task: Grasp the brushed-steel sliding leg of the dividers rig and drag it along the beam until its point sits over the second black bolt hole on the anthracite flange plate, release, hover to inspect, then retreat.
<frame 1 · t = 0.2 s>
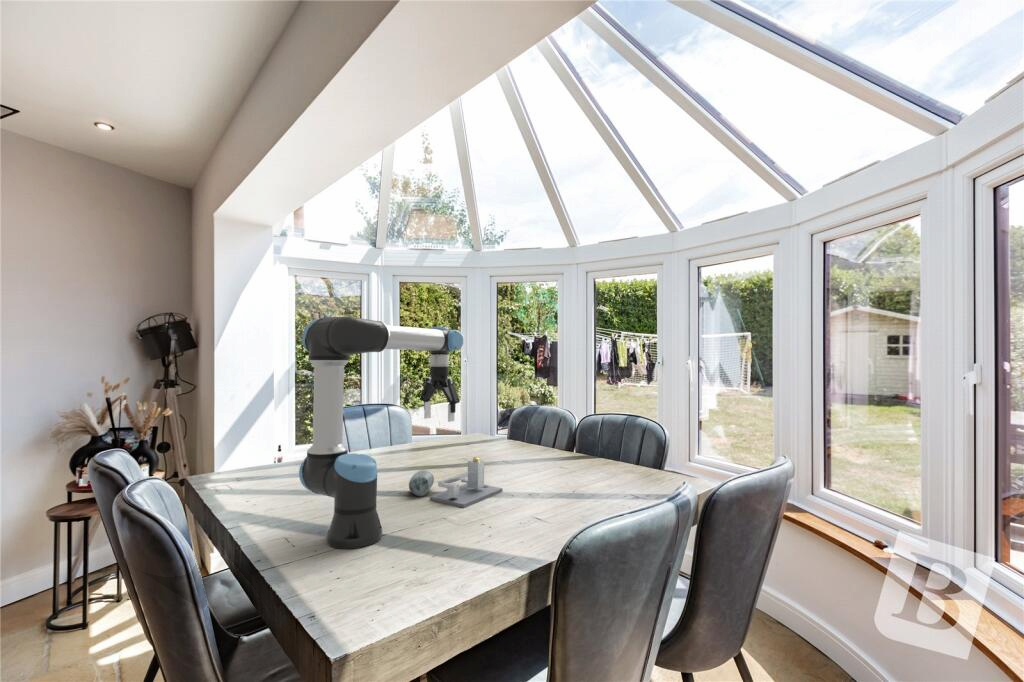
hand: (439, 419, 185), 28 cm above the table, fingers open, 13 cm apart
flange plate: (467, 495, 178), on the table
sliding leg: (472, 472, 183), point 8 cm above the table, slide at 0.0 cm
grey rounded oval lump: (421, 493, 182), on the table
dividers frame: (464, 484, 180), on the flange plate, point 4 cm above the table
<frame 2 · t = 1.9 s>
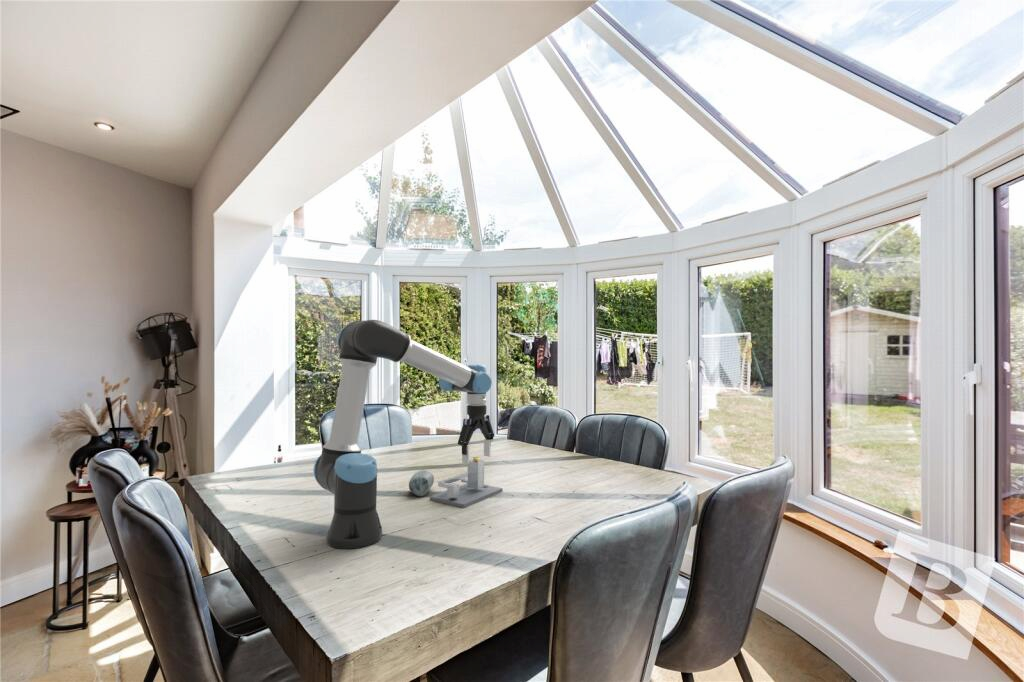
hand: (476, 459, 182), 13 cm above the table, fingers open, 13 cm apart
nothing on the table moved.
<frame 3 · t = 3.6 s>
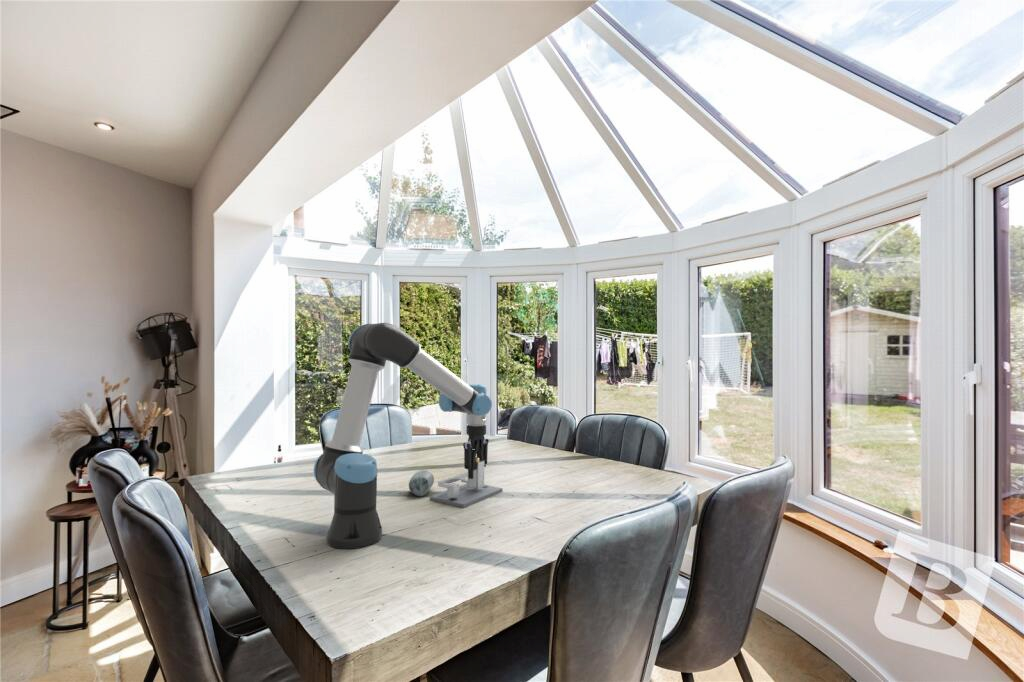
hand: (475, 485, 181), 3 cm above the table, fingers closed on sliding leg, 4 cm apart
sliding leg: (472, 472, 183), point 8 cm above the table, slide at 0.0 cm, touching gripper
everything else where it was.
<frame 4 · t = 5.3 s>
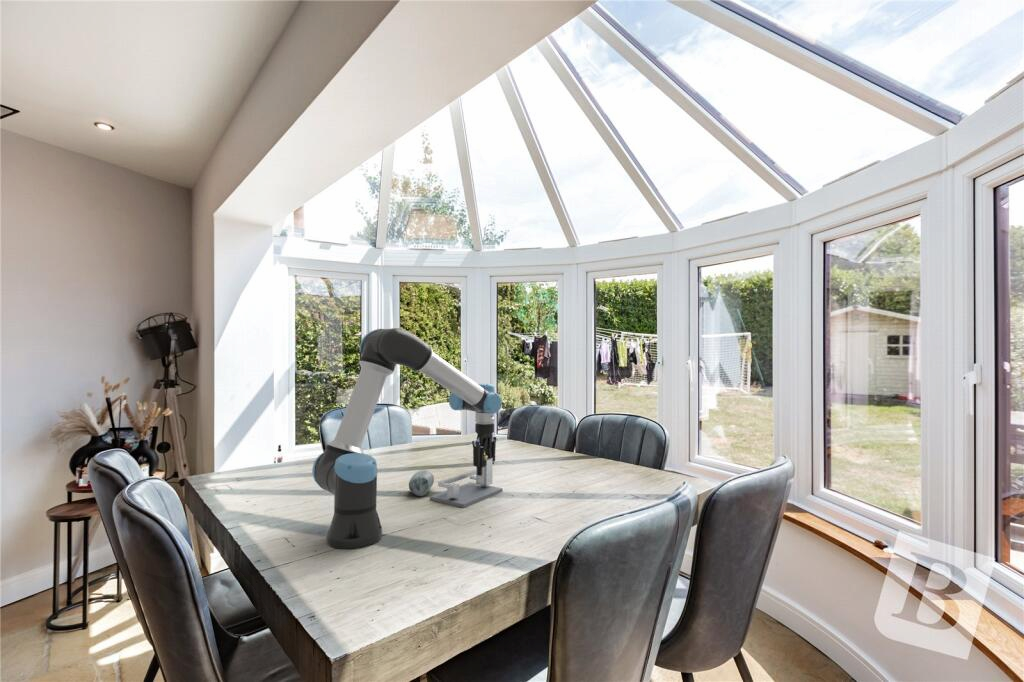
hand: (484, 481, 186), 3 cm above the table, fingers closed on sliding leg, 4 cm apart
sliding leg: (480, 470, 187), point 8 cm above the table, slide at 5.5 cm, touching gripper
everything else where it was.
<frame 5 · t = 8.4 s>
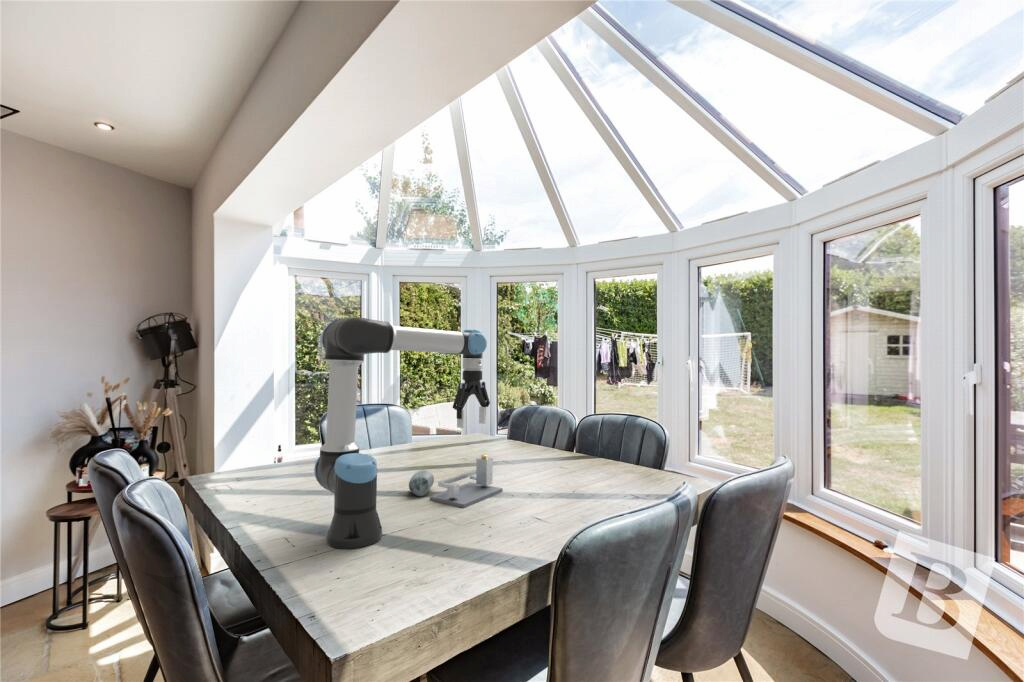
hand: (471, 425, 180), 26 cm above the table, fingers open, 13 cm apart
sliding leg: (480, 470, 187), point 8 cm above the table, slide at 5.5 cm
everything else where it was.
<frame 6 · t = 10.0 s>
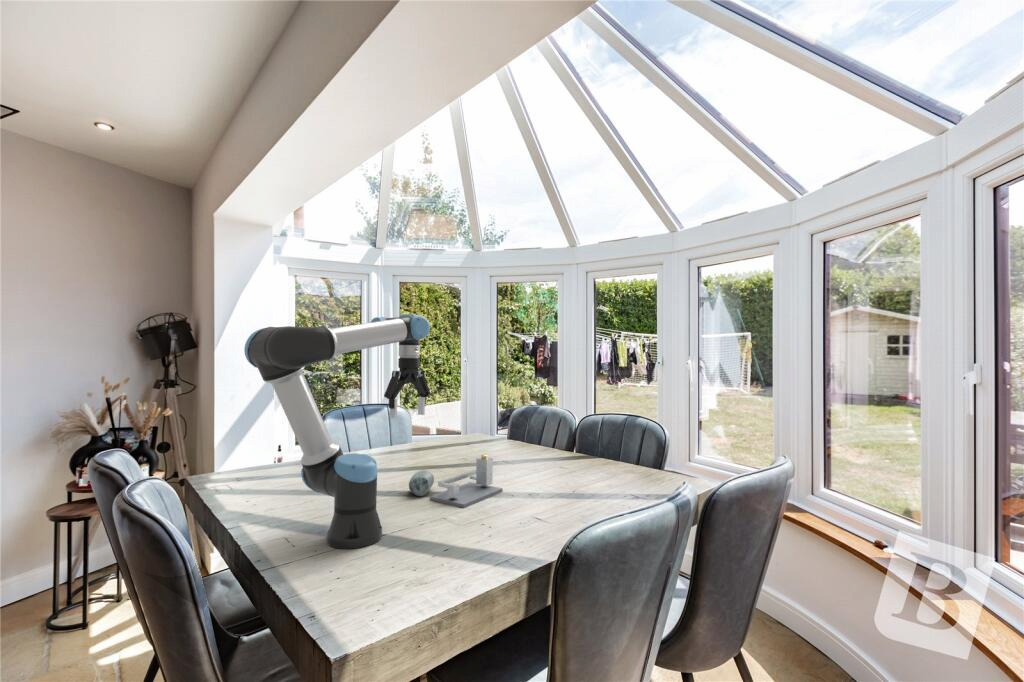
hand: (407, 416, 169), 31 cm above the table, fingers open, 13 cm apart
nothing on the table moved.
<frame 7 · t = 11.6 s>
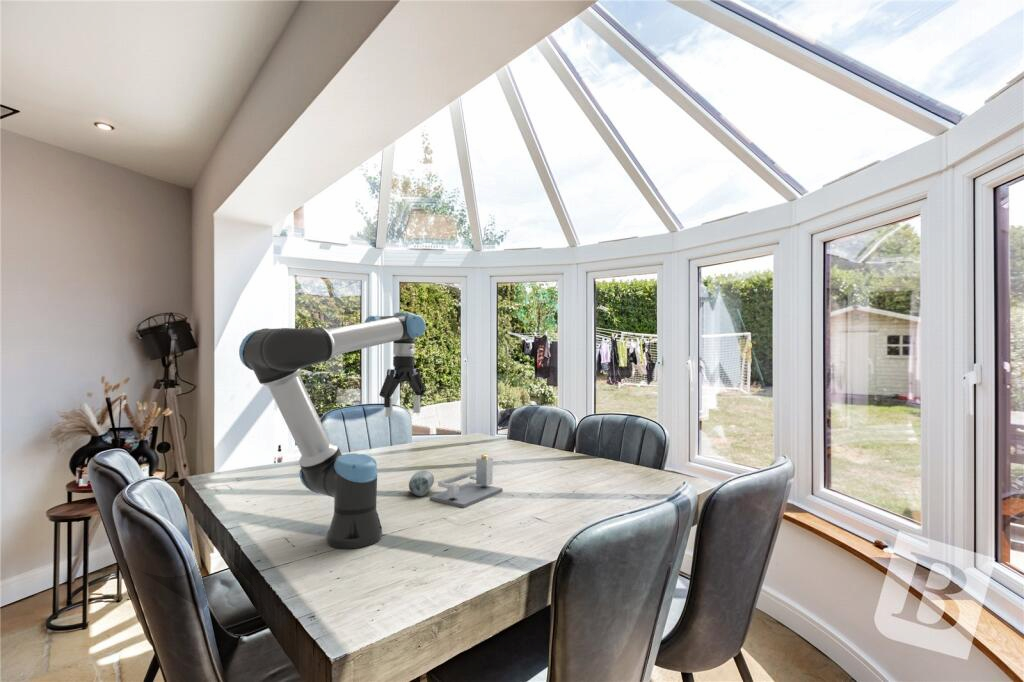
hand: (403, 414, 169), 32 cm above the table, fingers open, 13 cm apart
nothing on the table moved.
at the end: sliding leg slide at 5.5 cm; the gripper is holding nothing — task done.
